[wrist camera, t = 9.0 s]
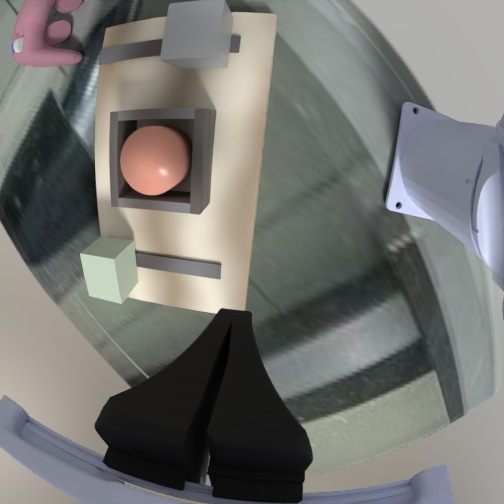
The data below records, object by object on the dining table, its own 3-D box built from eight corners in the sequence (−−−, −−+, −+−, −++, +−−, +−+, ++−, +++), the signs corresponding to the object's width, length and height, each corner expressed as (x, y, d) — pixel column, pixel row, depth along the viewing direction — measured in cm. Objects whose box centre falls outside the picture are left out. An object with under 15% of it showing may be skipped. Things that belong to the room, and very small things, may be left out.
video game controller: (98, -19, 12) (36, -28, 6) (122, -33, 10) (52, -48, 4) (66, 69, 16) (-1, 71, 11) (83, 66, 15) (5, 65, 9)
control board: (277, 21, 13) (276, -2, 10) (246, 306, 23) (240, 338, 19) (116, 32, 14) (86, 20, 10) (118, 284, 24) (97, 309, 20)
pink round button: (198, 125, 15) (185, 125, 13) (194, 187, 17) (182, 197, 15) (140, 125, 16) (120, 127, 13) (139, 183, 17) (121, 193, 15)
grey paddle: (233, 18, 12) (224, -1, 9) (227, 68, 13) (216, 57, 11) (186, 19, 12) (169, 3, 9) (179, 68, 14) (159, 59, 11)
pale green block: (134, 240, 19) (114, 259, 16) (138, 281, 21) (121, 303, 18) (101, 236, 19) (80, 253, 16) (107, 275, 21) (89, 295, 18)
